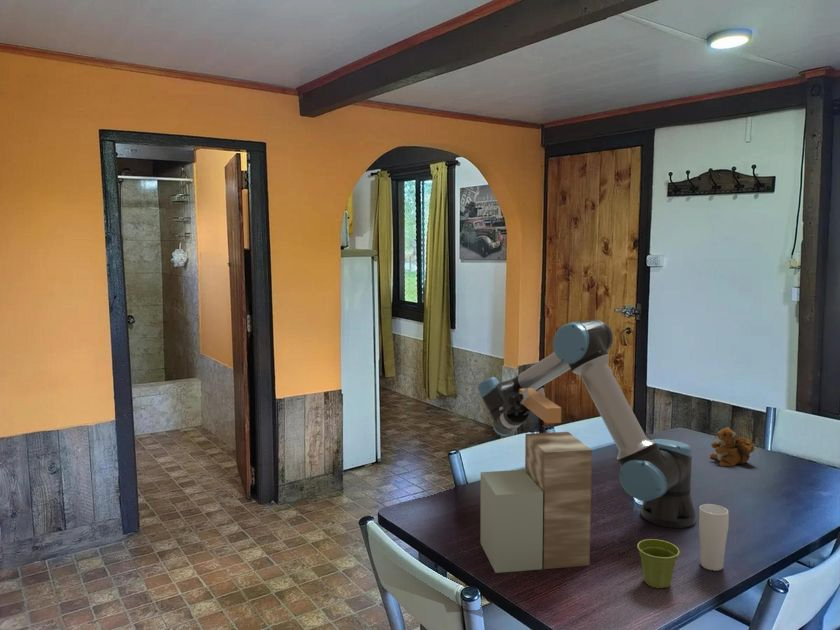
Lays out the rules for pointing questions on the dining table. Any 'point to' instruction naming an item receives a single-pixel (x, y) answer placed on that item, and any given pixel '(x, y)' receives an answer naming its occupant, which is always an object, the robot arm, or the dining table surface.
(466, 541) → the dining table surface
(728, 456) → the stuffed squirrel
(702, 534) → the drinking glass
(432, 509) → the dining table surface
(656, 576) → the plant pot
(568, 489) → the tall stand
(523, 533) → the sage green pillar
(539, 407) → the orange bar
